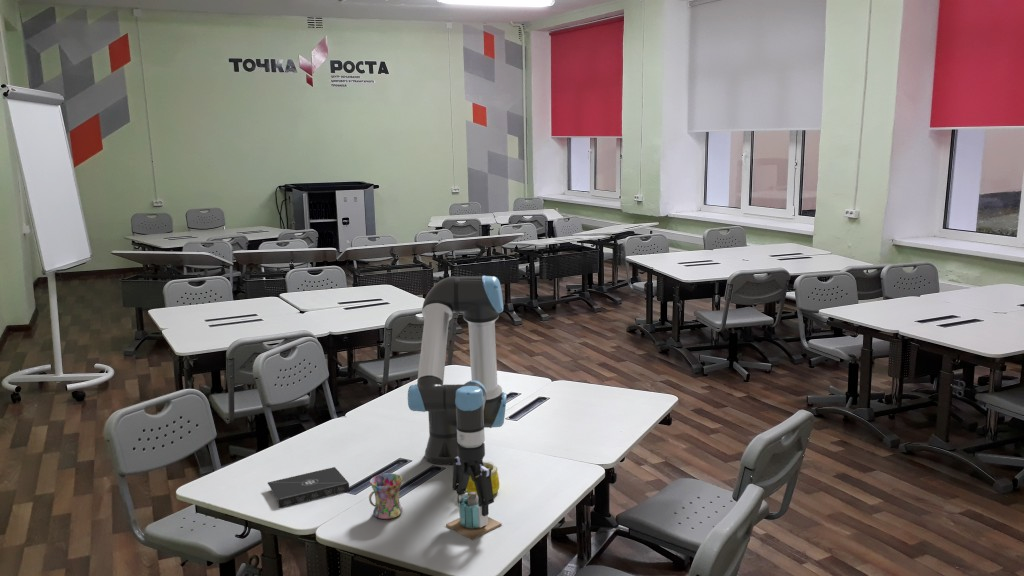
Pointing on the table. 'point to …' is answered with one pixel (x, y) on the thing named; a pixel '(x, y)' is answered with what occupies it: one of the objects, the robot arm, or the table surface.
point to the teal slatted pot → (468, 514)
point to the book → (308, 486)
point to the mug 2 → (494, 479)
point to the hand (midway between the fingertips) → (473, 520)
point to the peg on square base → (473, 532)
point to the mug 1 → (386, 495)
